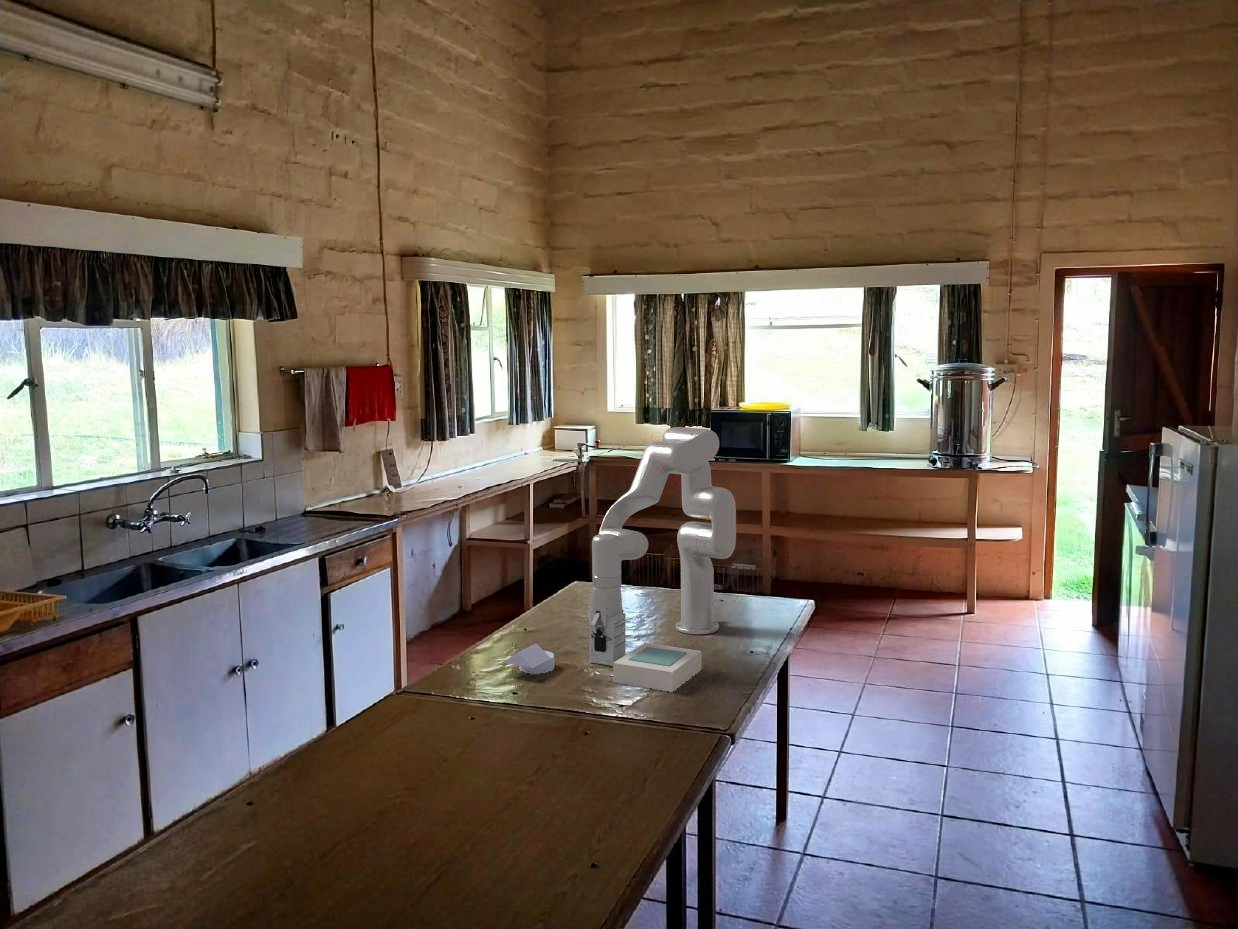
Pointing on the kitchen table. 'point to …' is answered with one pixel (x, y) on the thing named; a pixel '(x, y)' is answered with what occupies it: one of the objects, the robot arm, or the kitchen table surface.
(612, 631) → the supplement box
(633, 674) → the stand
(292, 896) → the kitchen table surface
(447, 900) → the kitchen table surface
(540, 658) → the wedge on round base
